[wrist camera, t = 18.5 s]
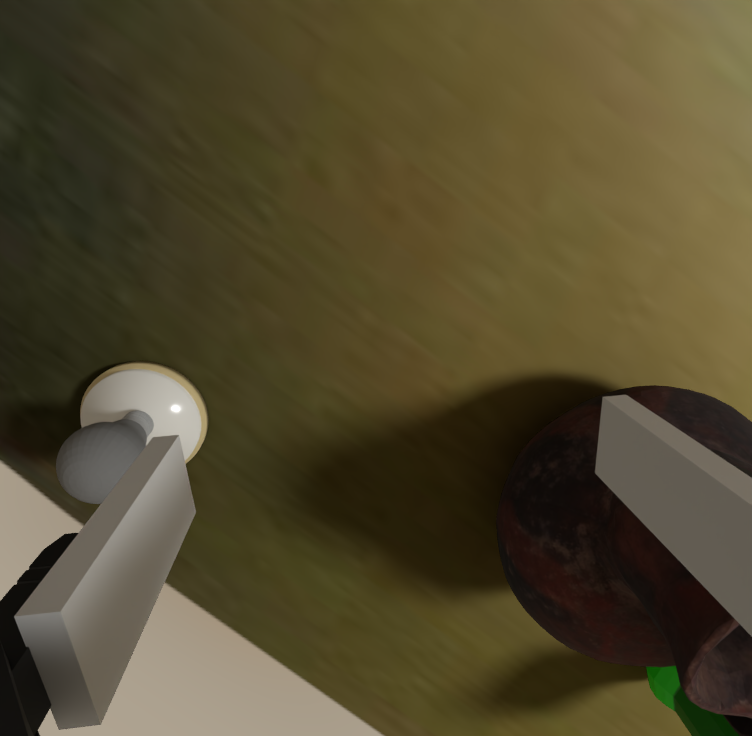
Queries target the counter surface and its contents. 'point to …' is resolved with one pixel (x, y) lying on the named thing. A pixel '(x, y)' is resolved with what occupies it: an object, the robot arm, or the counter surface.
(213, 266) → the counter surface
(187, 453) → the white plate
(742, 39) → the counter surface
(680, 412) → the jug
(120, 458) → the light bulb
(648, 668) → the plastic bottle
